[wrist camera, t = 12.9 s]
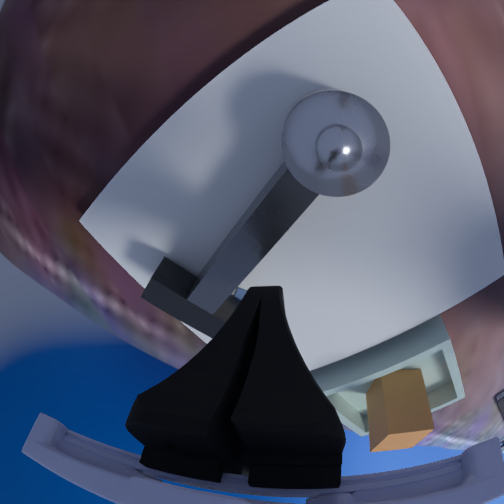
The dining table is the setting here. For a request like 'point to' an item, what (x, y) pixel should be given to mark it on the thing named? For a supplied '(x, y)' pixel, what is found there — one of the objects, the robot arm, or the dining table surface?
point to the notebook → (501, 402)
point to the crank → (280, 202)
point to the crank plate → (323, 207)
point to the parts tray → (387, 361)
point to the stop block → (398, 410)
